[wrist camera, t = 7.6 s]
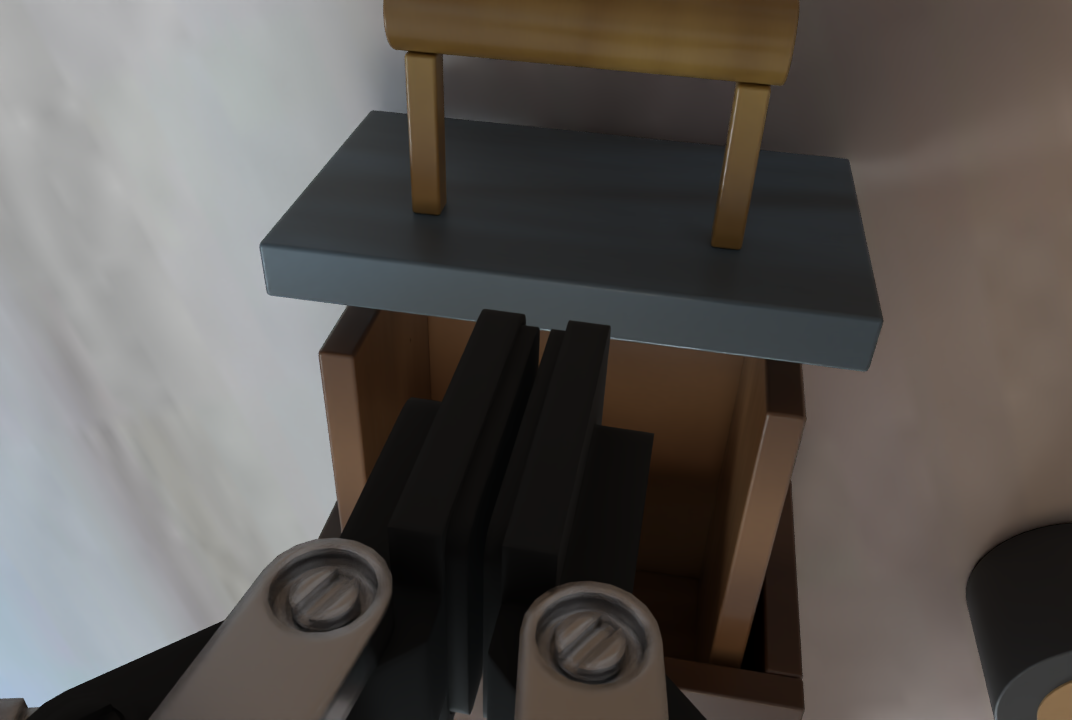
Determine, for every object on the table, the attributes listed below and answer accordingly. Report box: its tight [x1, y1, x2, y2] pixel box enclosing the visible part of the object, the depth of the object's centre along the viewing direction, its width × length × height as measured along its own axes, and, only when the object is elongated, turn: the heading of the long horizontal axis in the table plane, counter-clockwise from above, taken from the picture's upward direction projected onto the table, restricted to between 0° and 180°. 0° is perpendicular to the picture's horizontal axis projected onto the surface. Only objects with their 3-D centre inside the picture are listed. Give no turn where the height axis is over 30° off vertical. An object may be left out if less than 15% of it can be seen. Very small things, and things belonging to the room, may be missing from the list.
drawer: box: [260, 0, 883, 669], centre depth 23 cm, size 19×12×7 cm, turn 178°
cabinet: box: [318, 479, 805, 720], centre depth 31 cm, size 16×13×9 cm
